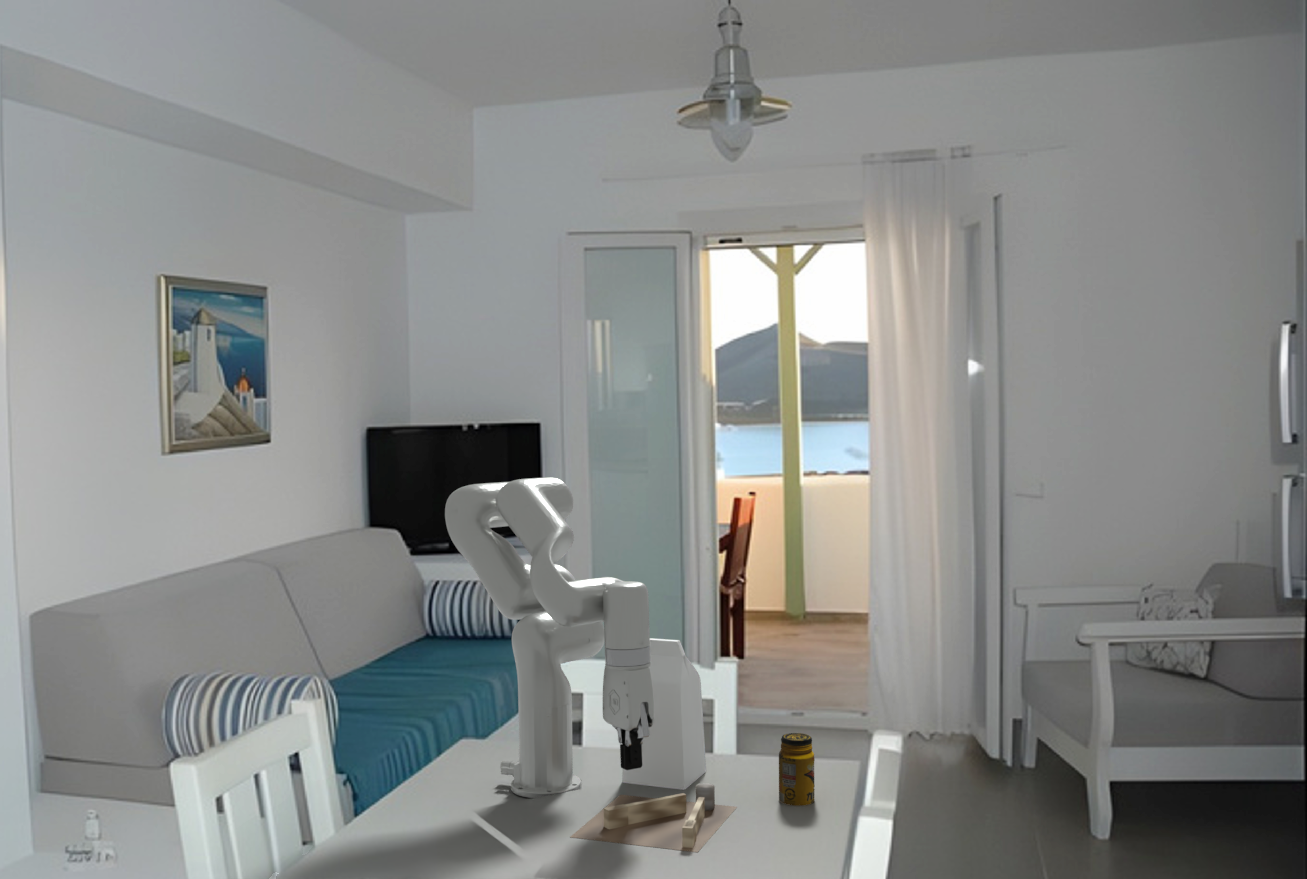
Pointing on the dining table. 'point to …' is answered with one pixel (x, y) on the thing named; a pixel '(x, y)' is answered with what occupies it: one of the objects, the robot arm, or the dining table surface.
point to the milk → (672, 722)
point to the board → (655, 827)
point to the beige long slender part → (698, 813)
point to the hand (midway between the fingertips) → (631, 767)
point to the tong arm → (644, 810)
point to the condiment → (796, 770)
